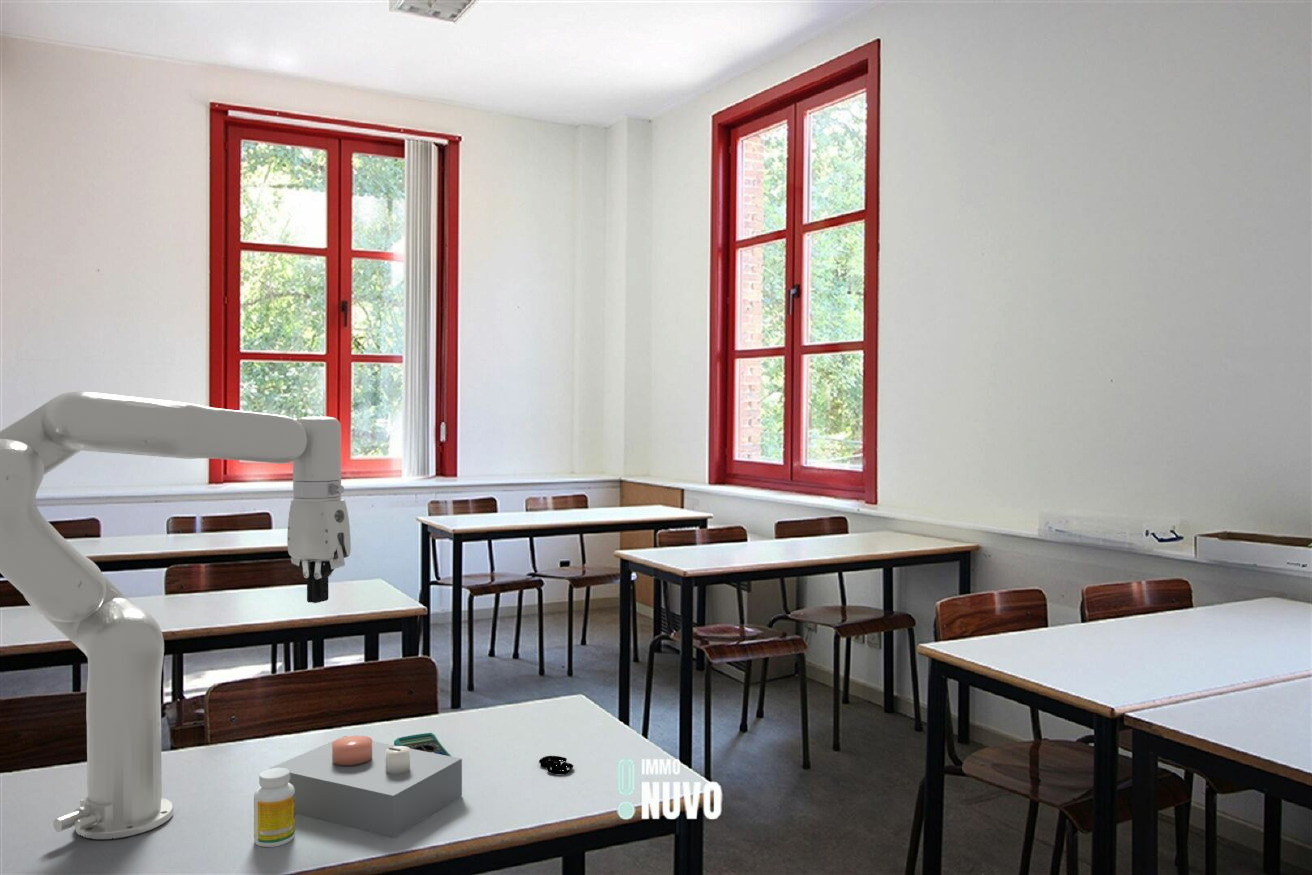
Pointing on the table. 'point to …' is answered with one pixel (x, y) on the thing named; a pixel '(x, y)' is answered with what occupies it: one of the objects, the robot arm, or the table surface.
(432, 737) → the digital multimeter
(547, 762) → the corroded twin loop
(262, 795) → the supplement bottle
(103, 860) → the table surface
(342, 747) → the button
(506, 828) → the table surface
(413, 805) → the box
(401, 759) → the knob
